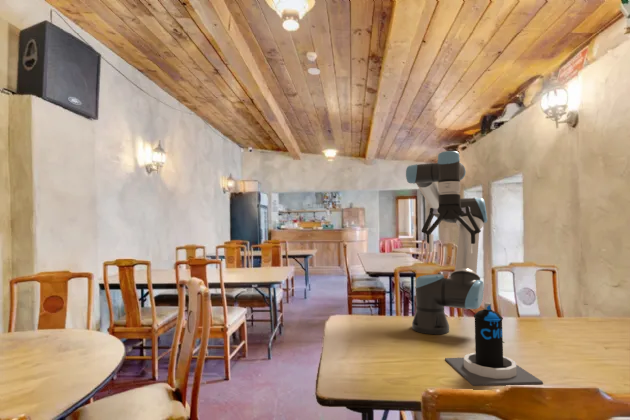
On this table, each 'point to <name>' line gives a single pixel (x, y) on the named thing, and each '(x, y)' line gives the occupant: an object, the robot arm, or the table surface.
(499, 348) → the aerosol can
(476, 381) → the can holder
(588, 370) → the table surface
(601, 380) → the table surface
